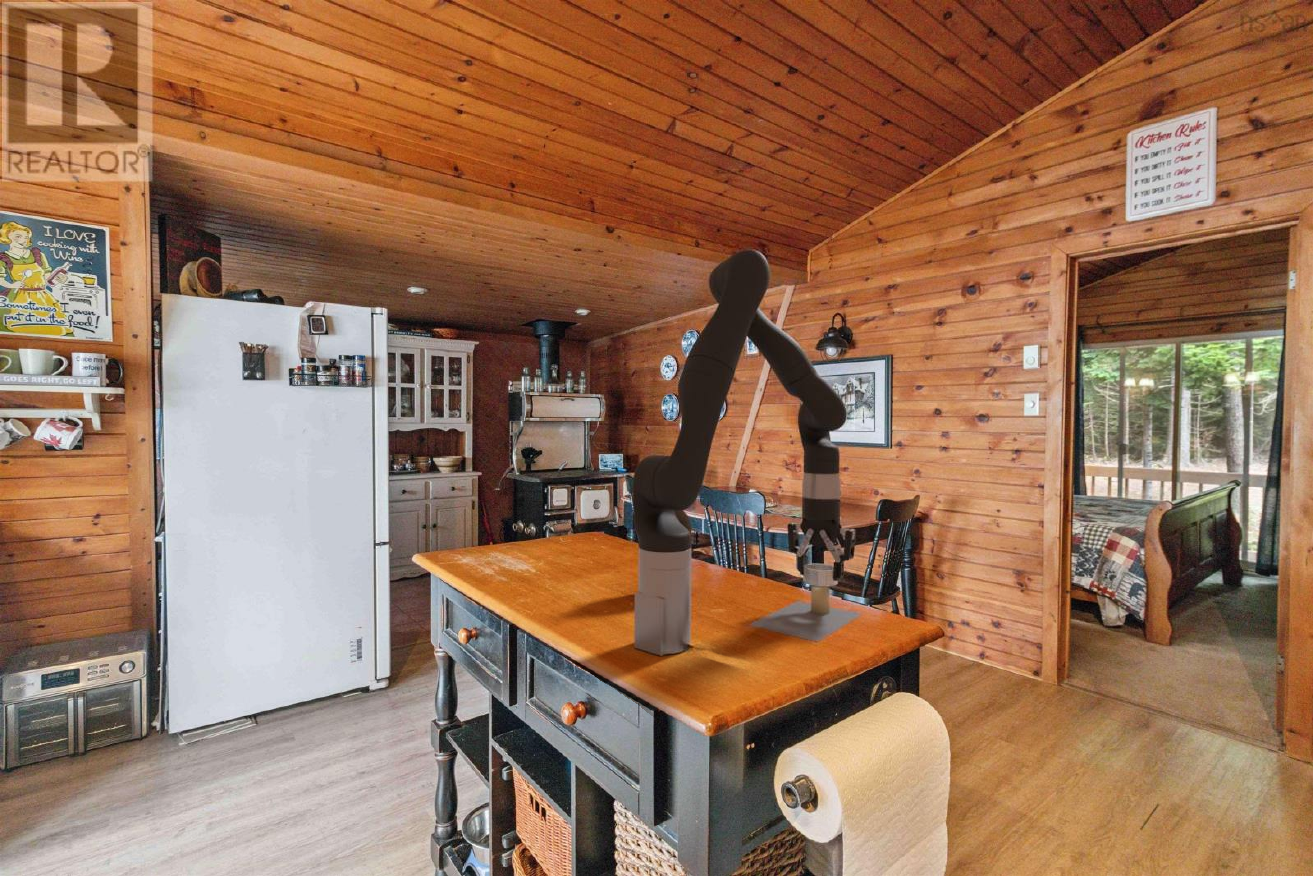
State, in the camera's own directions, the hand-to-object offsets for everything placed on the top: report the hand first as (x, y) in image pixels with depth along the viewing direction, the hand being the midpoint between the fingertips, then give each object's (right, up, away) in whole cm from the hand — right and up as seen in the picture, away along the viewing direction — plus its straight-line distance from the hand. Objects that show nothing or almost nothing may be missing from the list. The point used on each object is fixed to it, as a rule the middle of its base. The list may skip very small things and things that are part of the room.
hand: (820, 577), depth 122 cm
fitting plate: (-4, -8, -5) cm, 10 cm away
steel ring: (0, -1, 0) cm, 1 cm away
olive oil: (-31, -8, +16) cm, 36 cm away
